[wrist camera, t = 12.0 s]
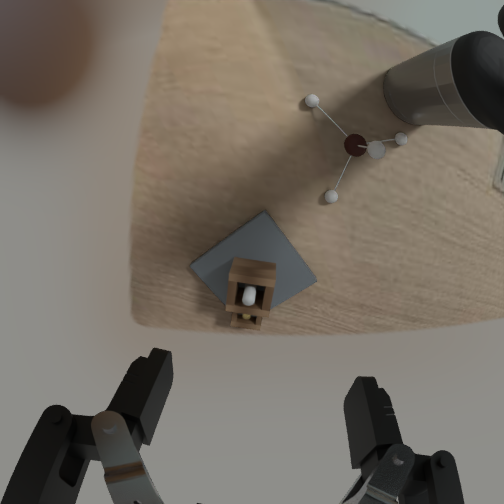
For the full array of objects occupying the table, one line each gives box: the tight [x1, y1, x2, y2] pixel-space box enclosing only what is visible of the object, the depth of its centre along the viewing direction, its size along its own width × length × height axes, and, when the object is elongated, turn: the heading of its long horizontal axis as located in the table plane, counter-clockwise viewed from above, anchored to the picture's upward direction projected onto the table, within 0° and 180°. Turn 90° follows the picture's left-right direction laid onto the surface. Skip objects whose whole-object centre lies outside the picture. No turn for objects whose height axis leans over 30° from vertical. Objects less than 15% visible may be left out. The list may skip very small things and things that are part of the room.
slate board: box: [190, 210, 317, 317], centre depth 40 cm, size 14×13×7 cm
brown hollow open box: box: [226, 257, 276, 330], centre depth 41 cm, size 6×11×5 cm, turn 173°
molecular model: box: [305, 94, 407, 203], centre depth 29 cm, size 13×15×13 cm
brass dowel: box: [243, 314, 251, 319], centre depth 43 cm, size 1×1×2 cm
